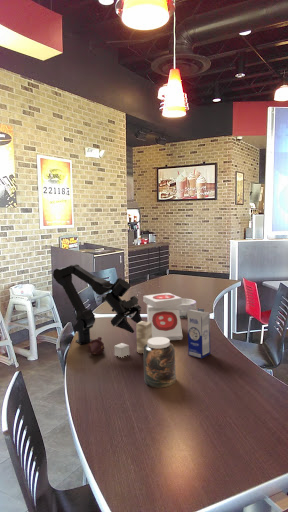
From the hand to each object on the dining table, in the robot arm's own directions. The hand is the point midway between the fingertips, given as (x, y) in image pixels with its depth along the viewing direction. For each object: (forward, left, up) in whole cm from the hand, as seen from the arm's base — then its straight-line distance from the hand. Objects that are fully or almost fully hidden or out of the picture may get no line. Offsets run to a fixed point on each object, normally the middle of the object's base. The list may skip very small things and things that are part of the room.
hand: (138, 329), depth 165 cm
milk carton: (+20, +17, -10) cm, 29 cm away
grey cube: (-1, -9, -10) cm, 13 cm away
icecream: (-9, -17, -10) cm, 22 cm away
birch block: (+2, +1, -10) cm, 10 cm away
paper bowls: (-33, +54, -10) cm, 64 cm away
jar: (+29, -11, -10) cm, 33 cm away
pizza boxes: (-11, +22, -10) cm, 27 cm away
